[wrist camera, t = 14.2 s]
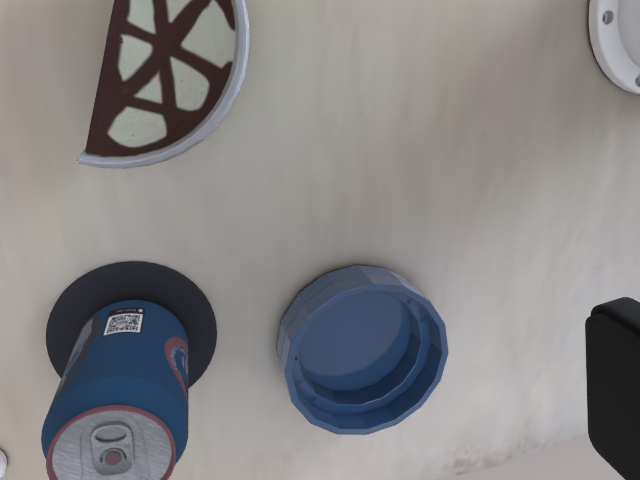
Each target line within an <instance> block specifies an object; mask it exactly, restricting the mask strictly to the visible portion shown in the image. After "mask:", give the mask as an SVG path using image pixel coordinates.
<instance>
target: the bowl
mask: <svg viewBox="0 0 640 480" xmlns="http://www.w3.org/2000/svg"><path fill="white" fill-rule="evenodd" d="M276 348H277V349H276V350H277V353H278V357H279V361H280V365H281V369H282V373H283V376H284V379H285V383H286V386H287V389H288V392H289V395H290V398H291V401H292V403H293V404H294V405H295V407H296V408H297V409H298V410H299V411H300V412H301V413H302V414H303V415H304V417H305V418H306V419H307V420H308V421H309V422H310V423H311V424H313V425H316V426H318V427H321V428H323V429H325V430H328V431H330V432H333V433H335V434H353V435H367V434H370V433H373V432H376V431H379V430H382V429H385V428H388V427H391V426H394V425H396V424H398V423H400V422H401V421H402V420H404V419H405V418H406V417H408V416H409V415H411V414H412V413H413V412H415V411H416V410H417V409H419V408H420V407H421V406H422V405H423V404H424V403H425V401H426V400H427V399H428V397H429V396H430V394H431V393H432V392H433V390H434V389H435V388H436V386H437V385H438V383H439V382H440V380H441V377H442V373H443V370H444V366H445V363H446V359H447V356H448V345H447V337H446V328H445V324H444V322H443V320H442V319H441V317H440V316H439V314H438V313H437V311H436V310H435V308H434V307H433V305H432V304H431V302H430V301H429V300H428V299H427V298H426V297H425V296H424V295H423V294H422V293H421V292H420V291H419V290H418V289H416V288H415V287H414V286H413V285H412V284H411V283H410V282H409V281H407V280H406V279H404V278H402V277H401V276H399V275H397V274H396V273H394V272H392V271H390V270H389V269H386V268H382V267H372V266H363V265H354V266H350V267H347V268H343V269H339V270H336V271H332V272H329V273H326V274H324V275H323V276H321V277H320V278H319V279H317V280H316V281H315V282H313V283H312V284H310V285H309V286H308V287H306V288H305V289H304V290H302V291H301V292H300V293H299V294H298V295H297V297H296V298H295V300H294V301H293V303H292V305H291V306H290V308H289V309H288V311H287V312H286V314H285V315H284V317H283V318H282V320H281V326H280V331H279V336H278V342H277V347H276Z"/></svg>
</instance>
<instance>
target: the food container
mask: <svg viewBox="0 0 640 480" xmlns="http://www.w3.org/2000/svg"><path fill="white" fill-rule="evenodd" d="M248 55H249V23H248V15H247V7H246V4H245V0H115V1H114V5H113V10H112V15H111V19H110V24H109V29H108V35H107V40H106V46H105V52H104V57H103V63H102V68H101V73H100V78H99V83H98V88H97V93H96V98H95V103H94V109H93V114H92V119H91V124H90V129H89V135H88V140H87V146H86V148H85V150H84V151H83V152H82V153H81V155H80V156H79V157H78V159H77V161H79V164H83V165H89V166H94V167H101V168H134V167H142V166H148V165H152V164H156V163H159V162H163V161H166V160H169V159H171V158H173V157H175V156H177V155H180V154H182V153H184V152H186V151H187V150H189V149H190V148H192V147H193V146H195V145H196V144H198V143H199V142H201V141H202V140H203V139H204V138H205V137H207V136H208V135H209V134H210V133H211V132H212V131H213V130H214V129H215V128H216V127H217V126H218V125H219V123H220V122H221V121H222V119H223V118H224V117H225V115H226V114H227V113H228V112H229V110H230V108H231V106H232V104H233V102H234V101H235V99H236V97H237V95H238V93H239V90H240V87H241V84H242V81H243V78H244V76H245V72H246V66H247V61H248Z"/></svg>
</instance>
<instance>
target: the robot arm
mask: <svg viewBox="0 0 640 480" xmlns="http://www.w3.org/2000/svg"><path fill="white" fill-rule="evenodd" d="M589 32H590V40H591V45H592V48H593V51H594V54H595V57H596V60H597V61H598V63H599V65H600V67H601V69H602V71H603V72H604V73H605V74H606V75H607V77H608V78H609V79H610V80H611V81H612V82H613V83H615V84H616V85H617V86H619V87H620V88H622V89H623V90H626V91H629V92H631V93H634V94H640V0H590V5H589ZM585 333H586V369H587V406H588V434H589V438H590V441H591V443H592V445H593V447H594V448H595V449H596V451H597V452H598V453H599V454H600V455H601V456H602V457H603V458H604V459H605V460H606V461H607V462H608V463H609V464H610V465H611V466H612V467H613V468H614V469H615V470H616V471H617V472H618V473H619V474H620V475H621V476H622V477H623V478H624V479H625V480H640V303H639V302H637V301H636V300H634V299H631V298H628V297H622V298H619V299H616V300H613V301H610V302H607V303H603V304H600V305H597V306H595V307H594V308H593V309H592V311H591V316H590V317H588V318H587V320H586V324H585Z"/></svg>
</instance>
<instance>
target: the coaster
mask: <svg viewBox="0 0 640 480" xmlns="http://www.w3.org/2000/svg"><path fill="white" fill-rule="evenodd" d="M127 300H141V301H148V302H152V303H155V304H157V305H160V306H162V307H164V308H165V309H167V310H168V311H170V312H171V313H172V314H173V315H174V316H175V317H176V318H177V319H178V320H179V321H180V323H181V324H182V326H183V328H184V330H185V332H186V335H187V339H188V388H190V387H191V386H192V385H193V384H194V383H195V382H196V381H197V380H198V379H199V378H200V377H201V376H202V374H203V373H204V372H205V370H206V369H207V367H208V365H209V363H210V361H211V359H212V356H213V354H214V350H215V346H216V338H217V330H216V321H215V317H214V313H213V311H212V308H211V305H210V304H209V302H208V300H207V298H206V297H205V295H204V294H203V293H202V291H201V290H200V289H199V288H198V287H197V286H196V285H195V284H194V283H193V282H192V281H190V280H189V279H188V278H186V277H185V276H183V275H182V274H180V273H178V272H176V271H174V270H172V269H169V268H167V267H164V266H161V265H157V264H153V263H147V262H120V263H115V264H110V265H106V266H103V267H100V268H97V269H95V270H93V271H91V272H89V273H87V274H85V275H83V276H82V277H80V278H79V279H77V280H76V281H75V282H74V283H72V284H71V285H70V286H69V287H68V288H67V289H66V290H65V291H64V292H63V294H62V295H61V296H60V298H59V299H58V301H57V302H56V304H55V306H54V308H53V310H52V312H51V314H50V317H49V320H48V324H47V330H46V345H47V350H48V355H49V357H50V360H51V363H52V365H53V367H54V369H55V370H56V372H57V373H58V375H59V376H60V377H61V379H62V376H63V374H64V371H65V369H66V366H67V364H68V361H69V359H70V356H71V354H72V351H73V349H74V346H75V344H76V341H77V339H78V336H79V334H80V331H81V329H82V328H83V326H84V324H85V323H86V322H87V321H88V320H89V318H90V317H91V316H93V315H94V314H95V313H96V312H98V311H99V310H101V309H102V308H104V307H106V306H108V305H111V304H114V303H117V302H121V301H127Z"/></svg>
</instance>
